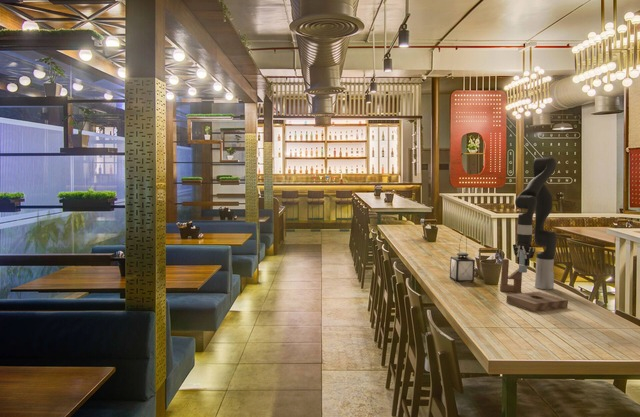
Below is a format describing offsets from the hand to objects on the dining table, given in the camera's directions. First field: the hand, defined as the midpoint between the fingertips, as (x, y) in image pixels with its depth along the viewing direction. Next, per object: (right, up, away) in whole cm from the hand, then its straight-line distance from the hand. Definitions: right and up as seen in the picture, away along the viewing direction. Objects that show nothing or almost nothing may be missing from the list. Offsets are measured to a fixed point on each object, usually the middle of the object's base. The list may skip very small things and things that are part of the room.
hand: (523, 264), depth 267 cm
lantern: (-21, -14, +40) cm, 48 cm away
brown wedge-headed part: (-2, -16, +13) cm, 21 cm away
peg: (0, -4, 0) cm, 4 cm away
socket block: (0, -19, -16) cm, 24 cm away
